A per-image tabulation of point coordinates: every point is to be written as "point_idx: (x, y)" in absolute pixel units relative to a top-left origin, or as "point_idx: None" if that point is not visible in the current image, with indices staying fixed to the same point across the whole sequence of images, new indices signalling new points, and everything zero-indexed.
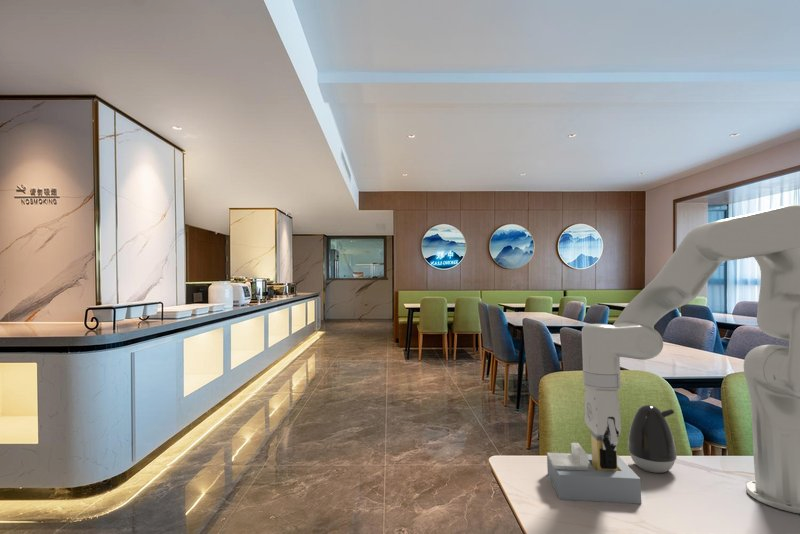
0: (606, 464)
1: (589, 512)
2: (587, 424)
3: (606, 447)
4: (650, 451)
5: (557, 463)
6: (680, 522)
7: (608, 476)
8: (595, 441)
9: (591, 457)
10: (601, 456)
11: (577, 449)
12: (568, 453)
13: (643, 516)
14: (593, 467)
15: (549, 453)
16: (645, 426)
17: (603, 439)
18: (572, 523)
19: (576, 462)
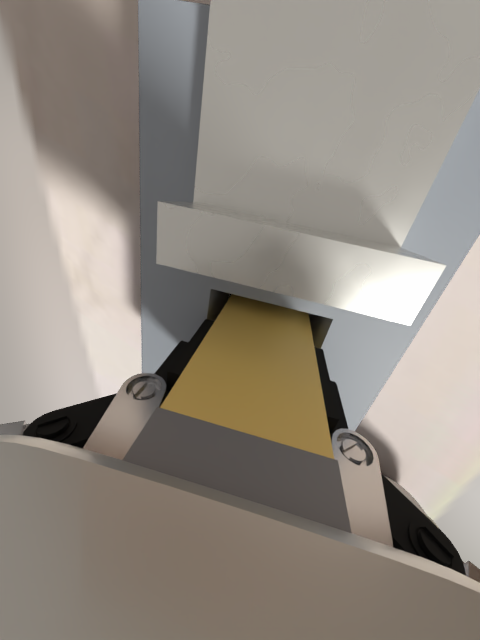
0: (181, 341)
1: (114, 168)
2: (375, 594)
3: (103, 401)
4: None
5: (252, 17)
6: (107, 369)
7: (146, 304)
8: (211, 402)
9: (353, 350)
10: (187, 349)
11: (270, 239)
12: (463, 257)
13: (118, 315)
14: (237, 294)
15: None
16: None
17: (87, 445)
18: (30, 51)
19: (254, 207)
